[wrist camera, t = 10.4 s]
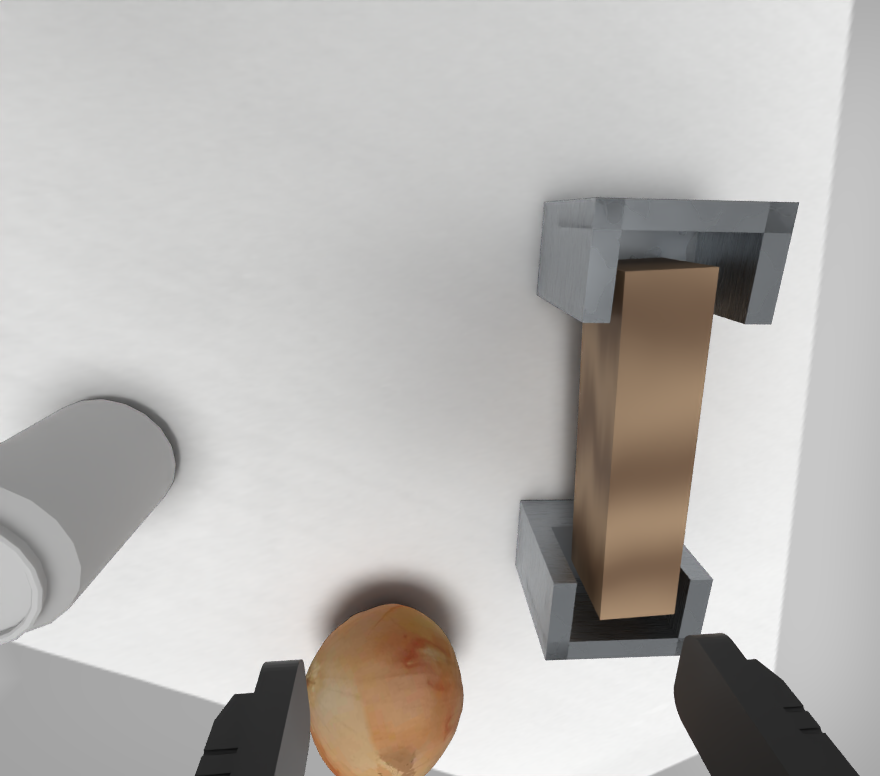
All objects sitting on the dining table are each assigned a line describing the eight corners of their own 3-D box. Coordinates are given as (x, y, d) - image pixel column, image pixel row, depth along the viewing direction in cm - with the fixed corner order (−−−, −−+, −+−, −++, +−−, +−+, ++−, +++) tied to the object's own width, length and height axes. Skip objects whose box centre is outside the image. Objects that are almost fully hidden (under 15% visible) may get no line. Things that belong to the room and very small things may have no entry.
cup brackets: (544, 202, 28) (596, 197, 20) (694, 205, 28) (799, 202, 21) (515, 564, 35) (545, 660, 28) (634, 561, 36) (695, 654, 28)
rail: (585, 261, 26) (625, 271, 21) (662, 257, 26) (719, 266, 21) (571, 559, 32) (600, 620, 27) (634, 554, 32) (674, 613, 27)
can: (179, 399, 30) (41, 511, 19) (184, 510, 32) (66, 670, 21) (42, 388, 29) (-186, 498, 18) (58, 503, 32) (-135, 664, 20)
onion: (318, 569, 34) (286, 703, 25) (465, 577, 35) (487, 709, 26) (313, 680, 37) (282, 837, 28) (448, 684, 38) (463, 837, 29)
